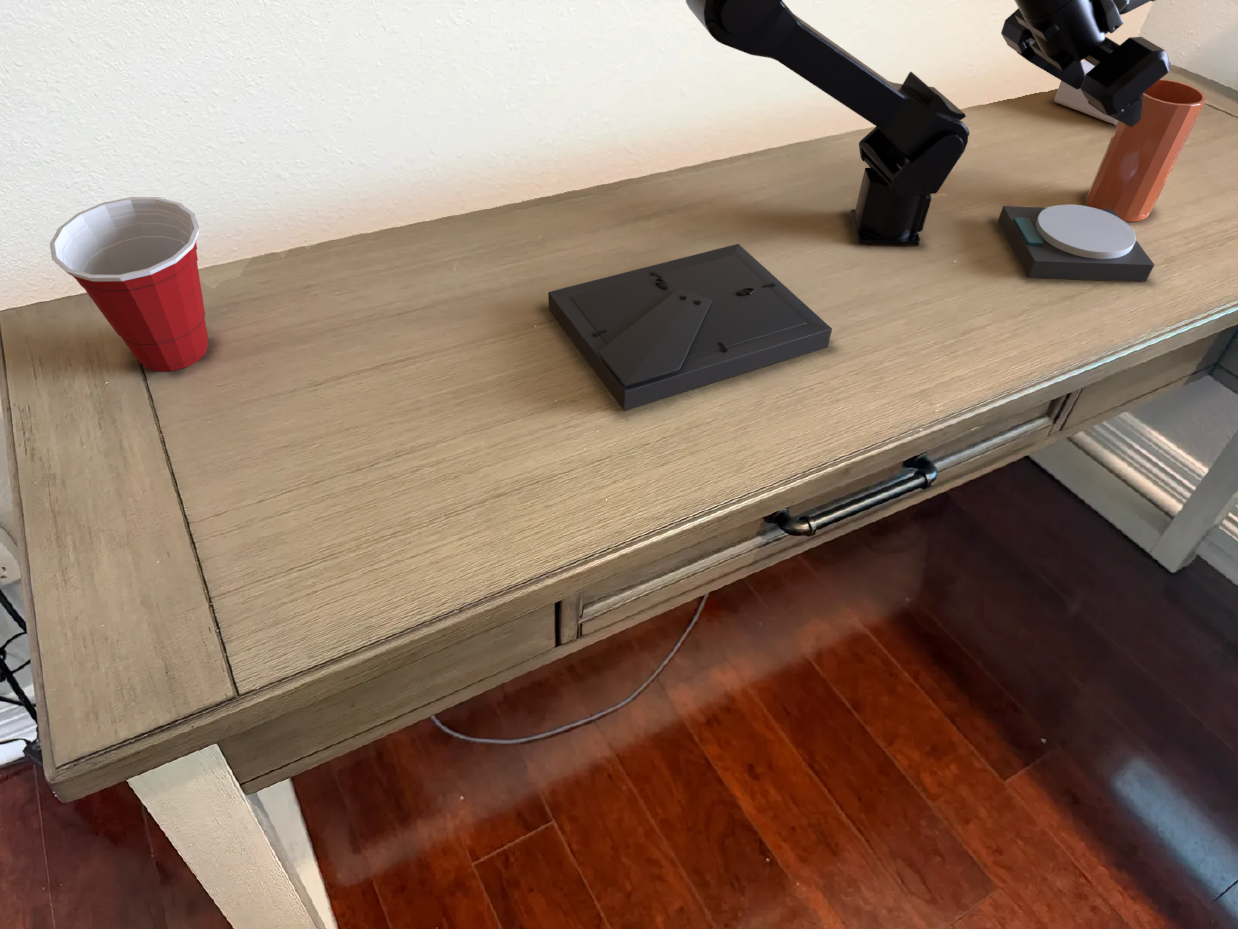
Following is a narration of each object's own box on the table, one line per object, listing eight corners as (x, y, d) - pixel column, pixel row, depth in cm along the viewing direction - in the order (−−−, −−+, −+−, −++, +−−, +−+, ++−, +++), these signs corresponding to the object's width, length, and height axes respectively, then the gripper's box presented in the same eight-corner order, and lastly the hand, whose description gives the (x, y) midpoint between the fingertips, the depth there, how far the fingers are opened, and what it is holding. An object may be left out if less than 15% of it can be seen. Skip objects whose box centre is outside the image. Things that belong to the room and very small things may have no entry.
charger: (1157, 144, 113) (1051, 104, 121) (1192, 126, 117) (1087, 88, 125) (1174, 107, 109) (1065, 68, 118) (1210, 90, 114) (1101, 53, 122)
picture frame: (624, 411, 74) (827, 347, 81) (625, 384, 72) (833, 321, 79) (548, 310, 84) (736, 261, 91) (547, 284, 82) (739, 236, 89)
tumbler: (1098, 220, 99) (1150, 103, 90) (1077, 190, 104) (1124, 77, 94) (1159, 222, 99) (1218, 106, 90) (1135, 192, 104) (1188, 79, 94)
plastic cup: (98, 402, 73) (34, 277, 65) (114, 325, 80) (58, 204, 72) (237, 382, 75) (193, 258, 67) (240, 309, 83) (201, 189, 74)
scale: (1027, 277, 90) (1037, 253, 88) (996, 222, 98) (1005, 198, 96) (1145, 281, 90) (1158, 257, 88) (1105, 225, 98) (1116, 202, 96)
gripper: (1204, -50, 72) (1248, 79, 82) (1072, -108, 85) (1123, 10, 95) (1080, 56, 76) (1136, 167, 86) (972, -15, 89) (1031, 89, 99)
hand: (1107, 103), depth 91 cm, fingers open, 9 cm apart
